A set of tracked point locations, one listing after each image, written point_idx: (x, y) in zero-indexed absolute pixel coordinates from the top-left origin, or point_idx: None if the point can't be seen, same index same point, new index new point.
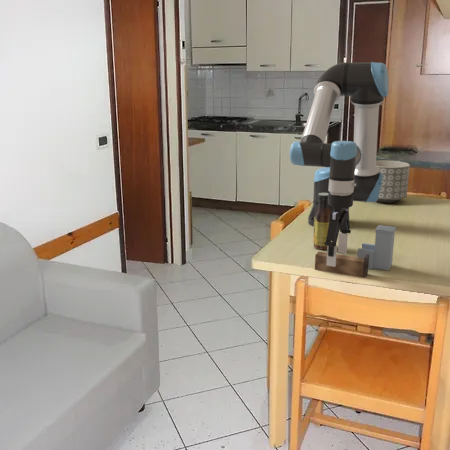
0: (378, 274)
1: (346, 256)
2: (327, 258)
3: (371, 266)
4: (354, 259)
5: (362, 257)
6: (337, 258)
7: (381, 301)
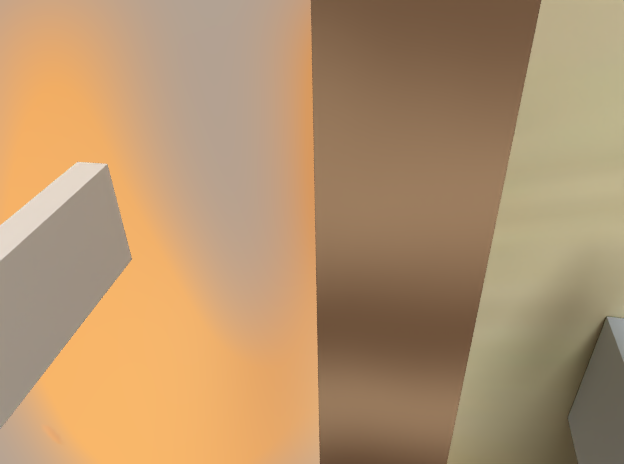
0: (453, 443)
1: (428, 359)
2: (17, 224)
3: (575, 431)
4: (356, 426)
5: (619, 442)
6: (318, 271)
7: (48, 434)
